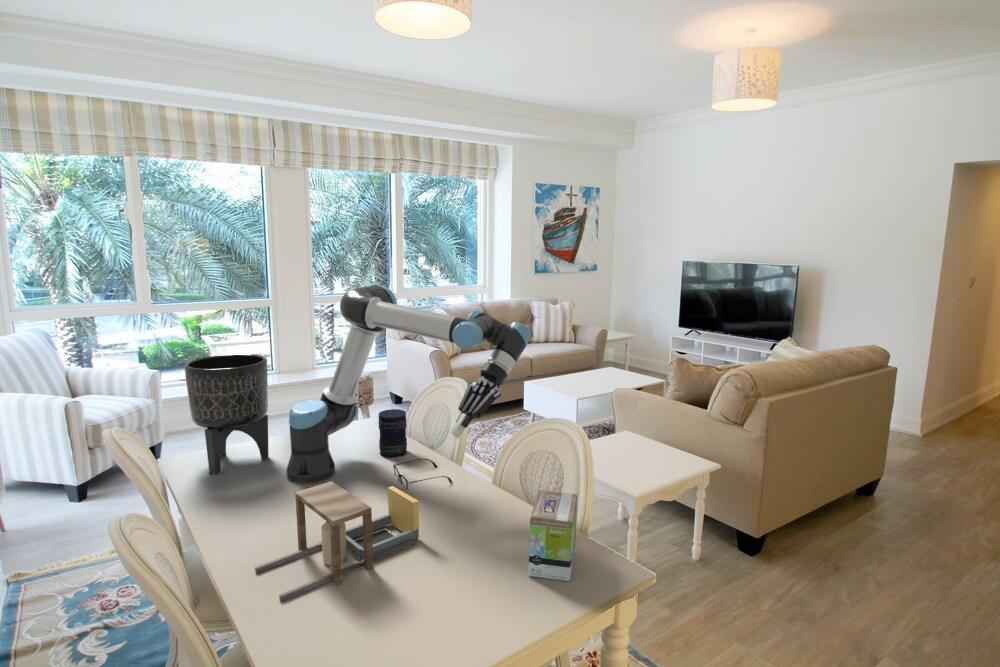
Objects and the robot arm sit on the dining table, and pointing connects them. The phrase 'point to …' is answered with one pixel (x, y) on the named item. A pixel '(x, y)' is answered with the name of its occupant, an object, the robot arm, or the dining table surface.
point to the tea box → (552, 535)
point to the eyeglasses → (418, 480)
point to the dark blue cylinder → (392, 433)
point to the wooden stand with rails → (331, 532)
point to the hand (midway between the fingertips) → (454, 435)
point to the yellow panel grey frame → (400, 516)
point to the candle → (327, 543)
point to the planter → (229, 401)
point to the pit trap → (377, 536)
